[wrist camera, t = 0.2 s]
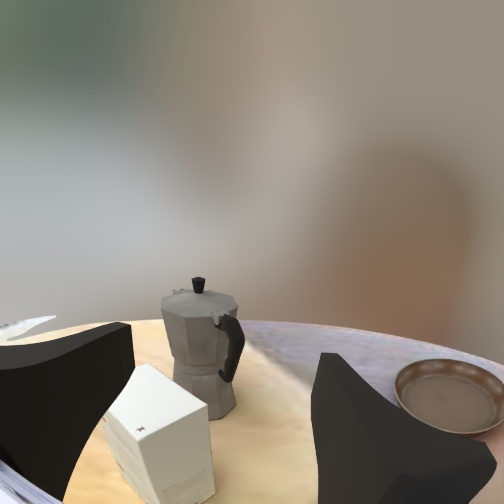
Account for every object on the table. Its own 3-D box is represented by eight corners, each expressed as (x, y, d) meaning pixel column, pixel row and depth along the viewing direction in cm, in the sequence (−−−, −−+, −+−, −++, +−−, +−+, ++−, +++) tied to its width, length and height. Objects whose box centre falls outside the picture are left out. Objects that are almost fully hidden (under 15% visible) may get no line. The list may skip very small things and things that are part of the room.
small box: (217, 493, 21) (210, 404, 19) (168, 525, 16) (135, 442, 14) (166, 452, 26) (148, 360, 24) (120, 474, 21) (85, 381, 19)
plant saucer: (375, 375, 43) (379, 359, 42) (468, 367, 40) (474, 352, 40) (409, 463, 23) (419, 445, 22) (521, 430, 20) (532, 412, 20)
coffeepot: (154, 385, 39) (143, 269, 36) (208, 370, 44) (207, 262, 41) (204, 452, 27) (195, 309, 24) (270, 424, 32) (281, 292, 29)
